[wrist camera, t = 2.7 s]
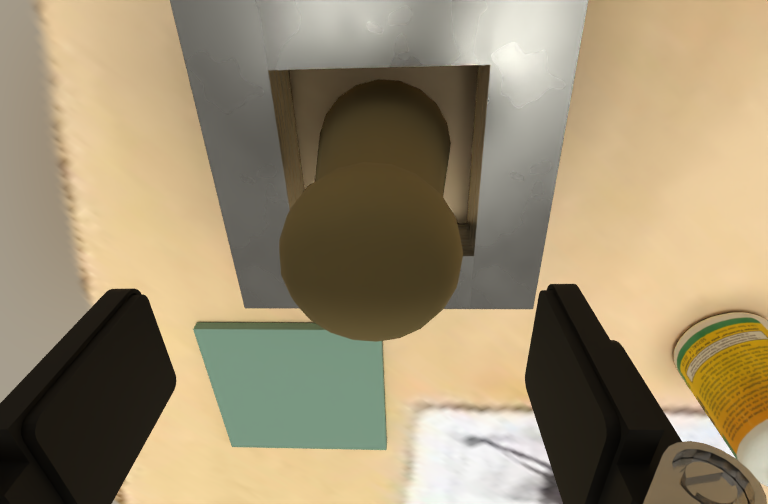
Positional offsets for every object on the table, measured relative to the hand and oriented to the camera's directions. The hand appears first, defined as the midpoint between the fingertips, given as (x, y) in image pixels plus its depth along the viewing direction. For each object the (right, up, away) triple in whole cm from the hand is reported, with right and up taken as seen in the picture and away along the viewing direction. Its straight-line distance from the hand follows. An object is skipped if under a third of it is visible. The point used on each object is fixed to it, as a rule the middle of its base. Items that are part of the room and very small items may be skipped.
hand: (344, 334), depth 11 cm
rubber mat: (-5, -7, +19) cm, 20 cm away
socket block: (+1, +7, +10) cm, 12 cm away
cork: (+1, +7, +10) cm, 12 cm away
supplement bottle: (+20, -3, +15) cm, 26 cm away
